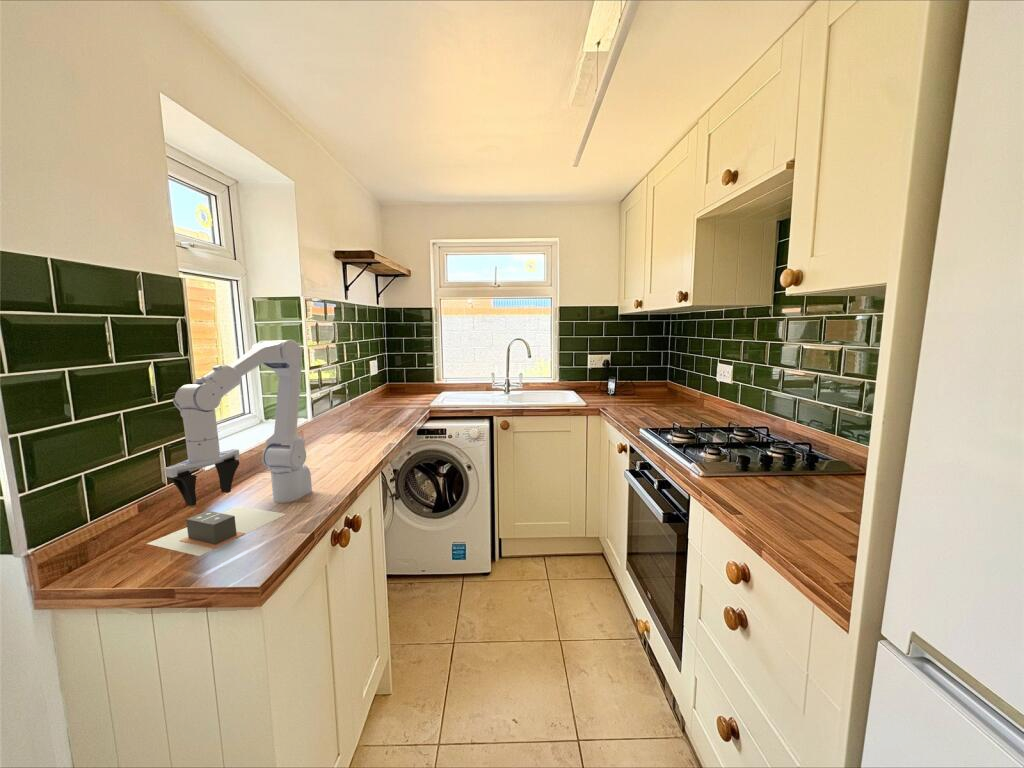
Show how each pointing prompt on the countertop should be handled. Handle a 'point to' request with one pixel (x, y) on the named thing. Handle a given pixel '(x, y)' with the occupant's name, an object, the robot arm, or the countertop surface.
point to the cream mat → (244, 523)
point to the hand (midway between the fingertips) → (209, 498)
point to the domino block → (211, 527)
